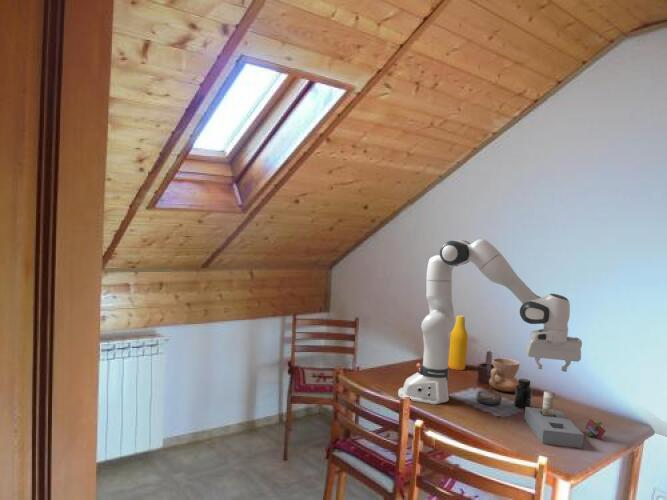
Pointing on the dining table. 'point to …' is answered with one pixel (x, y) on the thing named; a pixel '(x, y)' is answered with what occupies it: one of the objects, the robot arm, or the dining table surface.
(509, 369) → the ceramic jug
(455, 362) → the beer bottle
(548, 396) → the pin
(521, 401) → the supplement bottle
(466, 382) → the dining table surface
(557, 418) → the socket block
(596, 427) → the geometric puzzle
